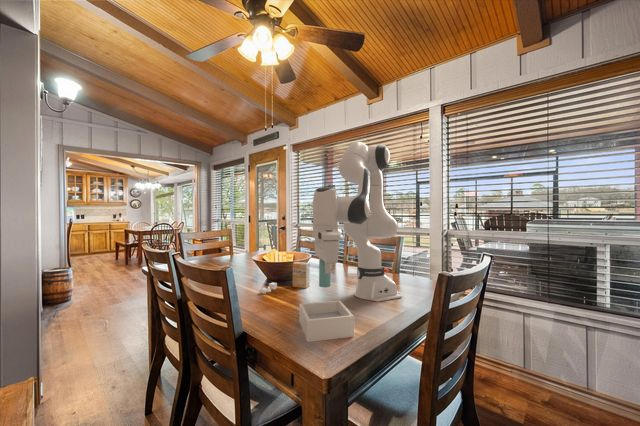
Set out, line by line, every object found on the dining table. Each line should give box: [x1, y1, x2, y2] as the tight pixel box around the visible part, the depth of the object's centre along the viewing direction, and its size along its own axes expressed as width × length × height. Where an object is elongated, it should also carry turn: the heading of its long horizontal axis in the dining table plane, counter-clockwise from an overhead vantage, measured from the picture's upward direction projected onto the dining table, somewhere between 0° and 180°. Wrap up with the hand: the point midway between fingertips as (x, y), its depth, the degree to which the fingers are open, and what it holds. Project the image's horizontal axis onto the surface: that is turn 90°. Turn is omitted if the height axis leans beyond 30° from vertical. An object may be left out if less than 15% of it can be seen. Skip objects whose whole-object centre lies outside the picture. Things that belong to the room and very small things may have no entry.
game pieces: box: [259, 282, 278, 295], centre depth 147 cm, size 12×3×3 cm, turn 158°
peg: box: [318, 259, 332, 288], centre depth 102 cm, size 4×4×9 cm
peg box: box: [299, 300, 355, 343], centre depth 103 cm, size 16×16×7 cm
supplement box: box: [292, 261, 311, 289], centre depth 154 cm, size 8×5×13 cm, turn 70°
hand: (325, 271), depth 102 cm, fingers closed on peg, 4 cm apart
